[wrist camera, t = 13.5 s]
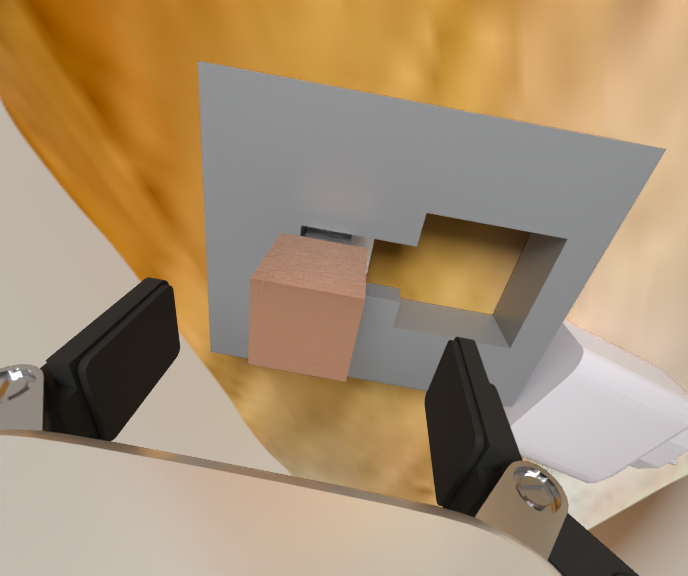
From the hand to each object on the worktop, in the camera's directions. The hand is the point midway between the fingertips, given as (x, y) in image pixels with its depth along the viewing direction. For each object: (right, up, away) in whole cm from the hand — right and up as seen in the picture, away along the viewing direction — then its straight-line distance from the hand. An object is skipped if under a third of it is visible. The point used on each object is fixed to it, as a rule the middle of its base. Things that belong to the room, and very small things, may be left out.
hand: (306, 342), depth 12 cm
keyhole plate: (+4, +4, +10) cm, 11 cm away
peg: (+1, +5, +10) cm, 11 cm away
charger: (+20, -6, +15) cm, 26 cm away
